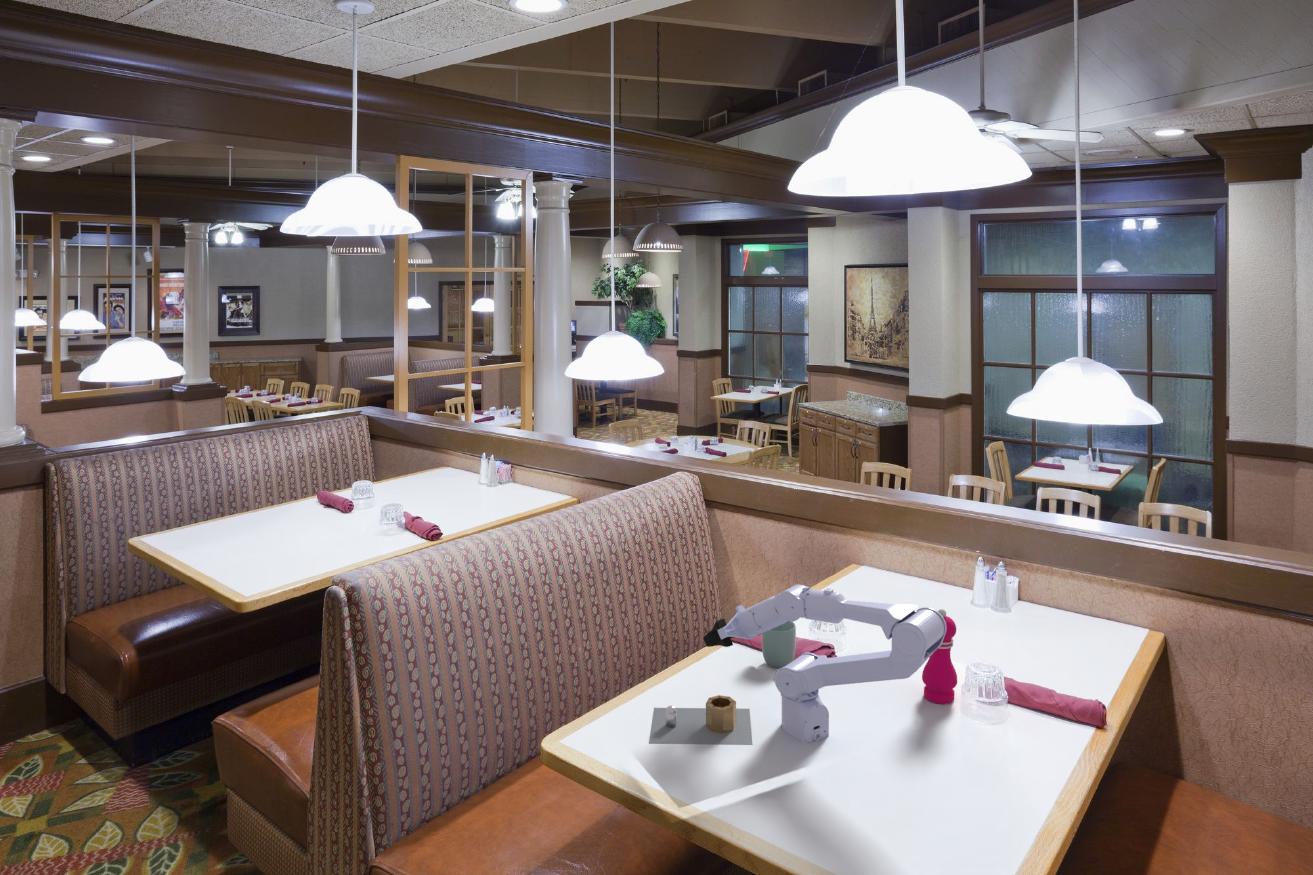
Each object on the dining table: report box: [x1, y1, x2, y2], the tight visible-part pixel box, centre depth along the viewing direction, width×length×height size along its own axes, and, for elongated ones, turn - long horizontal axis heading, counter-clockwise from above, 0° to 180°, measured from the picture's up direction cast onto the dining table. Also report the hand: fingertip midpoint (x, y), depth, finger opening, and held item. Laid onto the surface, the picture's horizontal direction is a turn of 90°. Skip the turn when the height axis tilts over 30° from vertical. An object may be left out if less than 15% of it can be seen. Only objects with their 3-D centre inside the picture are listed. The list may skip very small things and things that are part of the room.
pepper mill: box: [921, 608, 958, 705], centre depth 179 cm, size 7×7×20 cm
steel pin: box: [665, 705, 677, 728], centre depth 169 cm, size 2×2×4 cm
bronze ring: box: [705, 694, 737, 733], centre depth 168 cm, size 6×6×5 cm
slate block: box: [648, 707, 753, 746], centre depth 169 cm, size 20×14×2 cm
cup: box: [761, 621, 797, 669], centre depth 198 cm, size 8×8×10 cm
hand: (717, 637), depth 178 cm, fingers open, 7 cm apart
